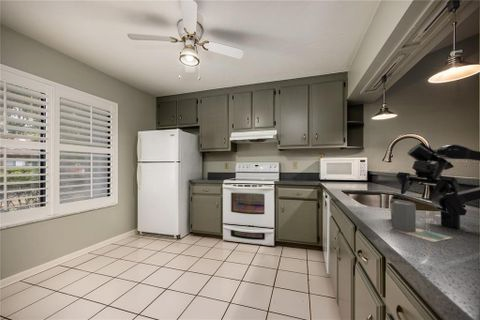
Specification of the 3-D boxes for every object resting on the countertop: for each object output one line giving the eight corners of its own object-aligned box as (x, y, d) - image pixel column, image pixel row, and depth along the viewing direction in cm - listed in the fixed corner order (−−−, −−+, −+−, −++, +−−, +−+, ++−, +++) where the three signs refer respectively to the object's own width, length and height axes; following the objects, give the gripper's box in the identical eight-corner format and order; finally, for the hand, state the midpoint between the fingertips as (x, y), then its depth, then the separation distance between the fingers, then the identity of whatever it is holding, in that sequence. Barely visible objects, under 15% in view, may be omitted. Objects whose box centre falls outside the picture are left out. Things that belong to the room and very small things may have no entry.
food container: (423, 231, 79) (423, 205, 79) (405, 230, 80) (405, 205, 80) (405, 221, 91) (405, 199, 91) (389, 220, 92) (389, 199, 92)
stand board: (404, 227, 82) (404, 215, 82) (453, 240, 68) (453, 225, 68) (385, 230, 79) (385, 217, 79) (433, 244, 64) (433, 229, 65)
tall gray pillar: (400, 227, 79) (400, 201, 80) (415, 231, 75) (415, 204, 75) (392, 228, 78) (392, 202, 78) (407, 232, 73) (406, 205, 73)
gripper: (400, 154, 89) (382, 178, 85) (458, 155, 72) (438, 185, 68) (409, 172, 92) (392, 196, 89) (467, 177, 75) (448, 207, 71)
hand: (414, 195), depth 79 cm, fingers open, 9 cm apart
